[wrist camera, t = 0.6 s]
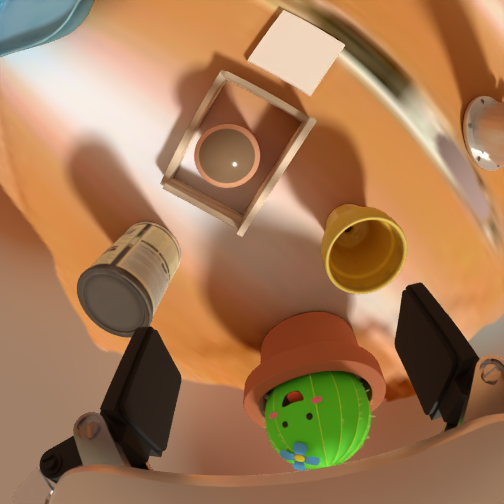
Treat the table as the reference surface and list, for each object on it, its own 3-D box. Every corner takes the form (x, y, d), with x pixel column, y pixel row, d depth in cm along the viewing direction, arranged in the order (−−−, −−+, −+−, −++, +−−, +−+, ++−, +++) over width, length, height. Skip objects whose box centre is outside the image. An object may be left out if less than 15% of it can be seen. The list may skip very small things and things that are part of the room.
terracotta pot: (225, 114, 33) (214, 112, 26) (271, 139, 34) (272, 144, 27) (200, 158, 35) (183, 168, 28) (244, 182, 37) (239, 199, 30)
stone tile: (283, 12, 26) (283, 9, 25) (343, 46, 27) (345, 45, 26) (247, 62, 29) (247, 60, 28) (309, 96, 31) (310, 95, 30)
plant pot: (346, 270, 42) (363, 309, 33) (297, 231, 40) (306, 265, 31) (392, 222, 38) (422, 252, 29) (346, 176, 36) (371, 195, 27)
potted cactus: (380, 350, 50) (415, 457, 28) (289, 392, 57) (293, 495, 34) (334, 276, 43) (379, 417, 20) (225, 336, 49) (203, 464, 27)
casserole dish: (145, -63, 18) (129, -81, 11) (103, 44, 28) (76, 36, 21) (8, -15, 15) (-12, -19, 9) (-19, 71, 25) (-42, 74, 19)
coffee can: (159, 290, 45) (128, 349, 33) (112, 251, 43) (67, 301, 30) (195, 251, 42) (167, 309, 29) (143, 207, 39) (94, 249, 26)
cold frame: (224, 72, 30) (218, 65, 26) (310, 120, 33) (317, 120, 28) (166, 179, 37) (153, 188, 32) (245, 222, 39) (242, 237, 35)
